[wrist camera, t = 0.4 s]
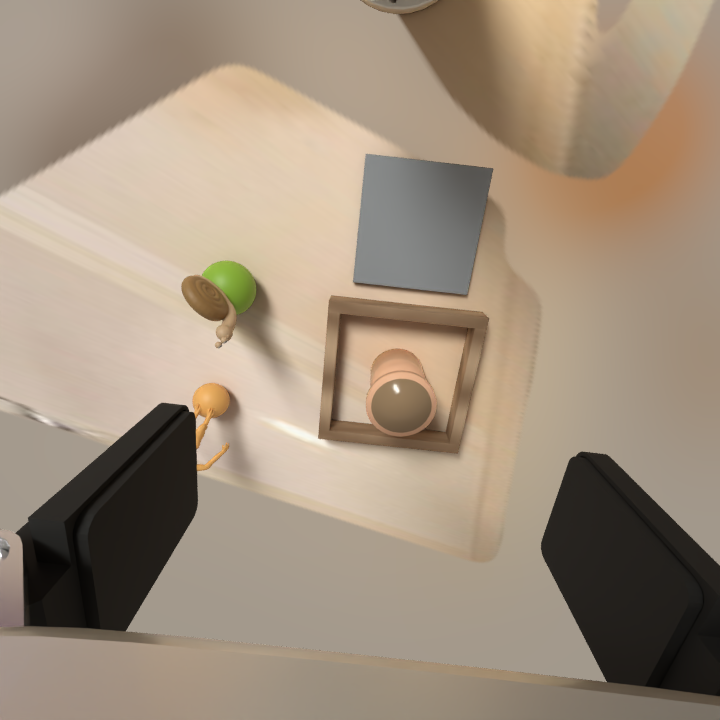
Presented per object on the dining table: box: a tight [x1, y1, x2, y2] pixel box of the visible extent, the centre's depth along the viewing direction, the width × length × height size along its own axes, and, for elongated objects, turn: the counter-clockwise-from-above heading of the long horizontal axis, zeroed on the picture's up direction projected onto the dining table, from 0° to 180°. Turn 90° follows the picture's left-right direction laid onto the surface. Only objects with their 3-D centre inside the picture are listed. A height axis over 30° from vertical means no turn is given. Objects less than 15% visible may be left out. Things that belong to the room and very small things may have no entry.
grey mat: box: [353, 154, 493, 295], centre depth 39 cm, size 12×12×1 cm
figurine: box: [193, 383, 230, 471], centre depth 42 cm, size 8×6×12 cm
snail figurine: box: [182, 261, 256, 348], centre depth 37 cm, size 5×6×12 cm
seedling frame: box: [318, 296, 489, 453], centre depth 44 cm, size 16×16×2 cm
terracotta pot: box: [366, 349, 437, 437], centre depth 42 cm, size 7×7×8 cm
